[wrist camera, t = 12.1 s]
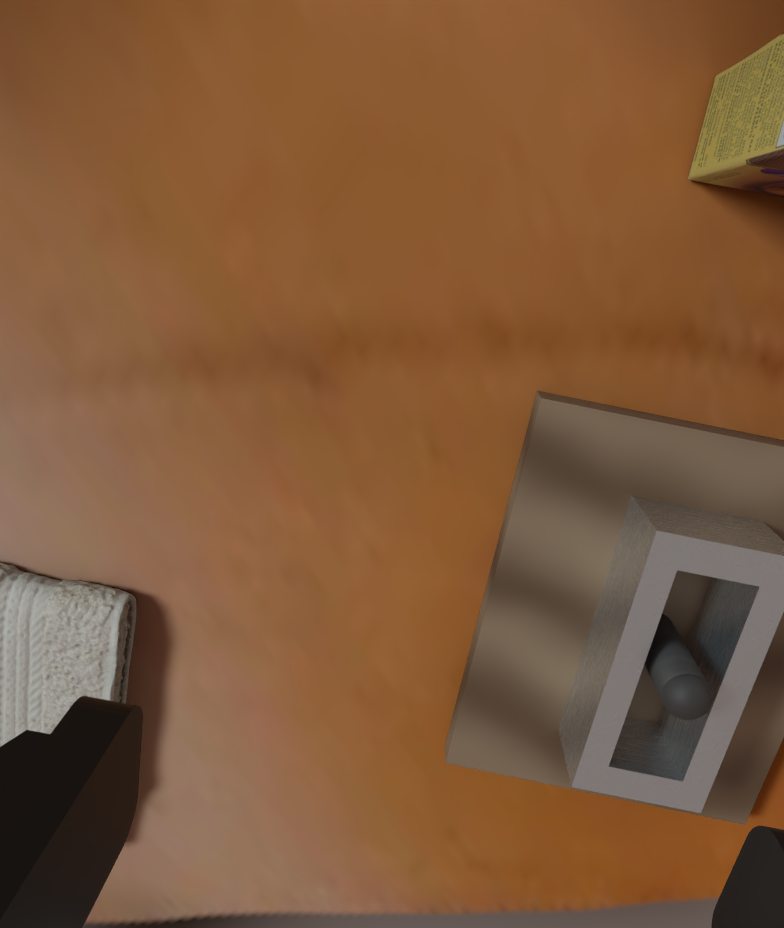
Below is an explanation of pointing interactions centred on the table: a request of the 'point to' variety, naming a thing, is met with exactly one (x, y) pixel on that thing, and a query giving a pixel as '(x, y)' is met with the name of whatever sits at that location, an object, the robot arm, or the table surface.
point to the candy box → (745, 125)
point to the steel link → (710, 644)
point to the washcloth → (59, 648)
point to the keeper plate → (581, 582)
